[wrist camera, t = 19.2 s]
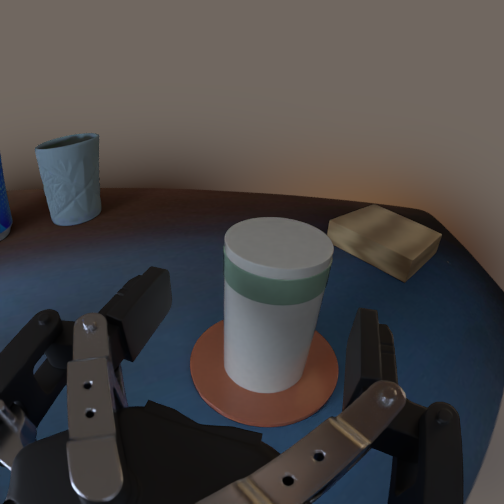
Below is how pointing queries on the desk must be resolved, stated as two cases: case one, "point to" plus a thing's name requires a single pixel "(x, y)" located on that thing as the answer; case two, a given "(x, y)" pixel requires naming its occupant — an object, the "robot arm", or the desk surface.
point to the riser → (385, 240)
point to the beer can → (4, 208)
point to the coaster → (262, 404)
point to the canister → (272, 300)
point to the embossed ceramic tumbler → (71, 177)
